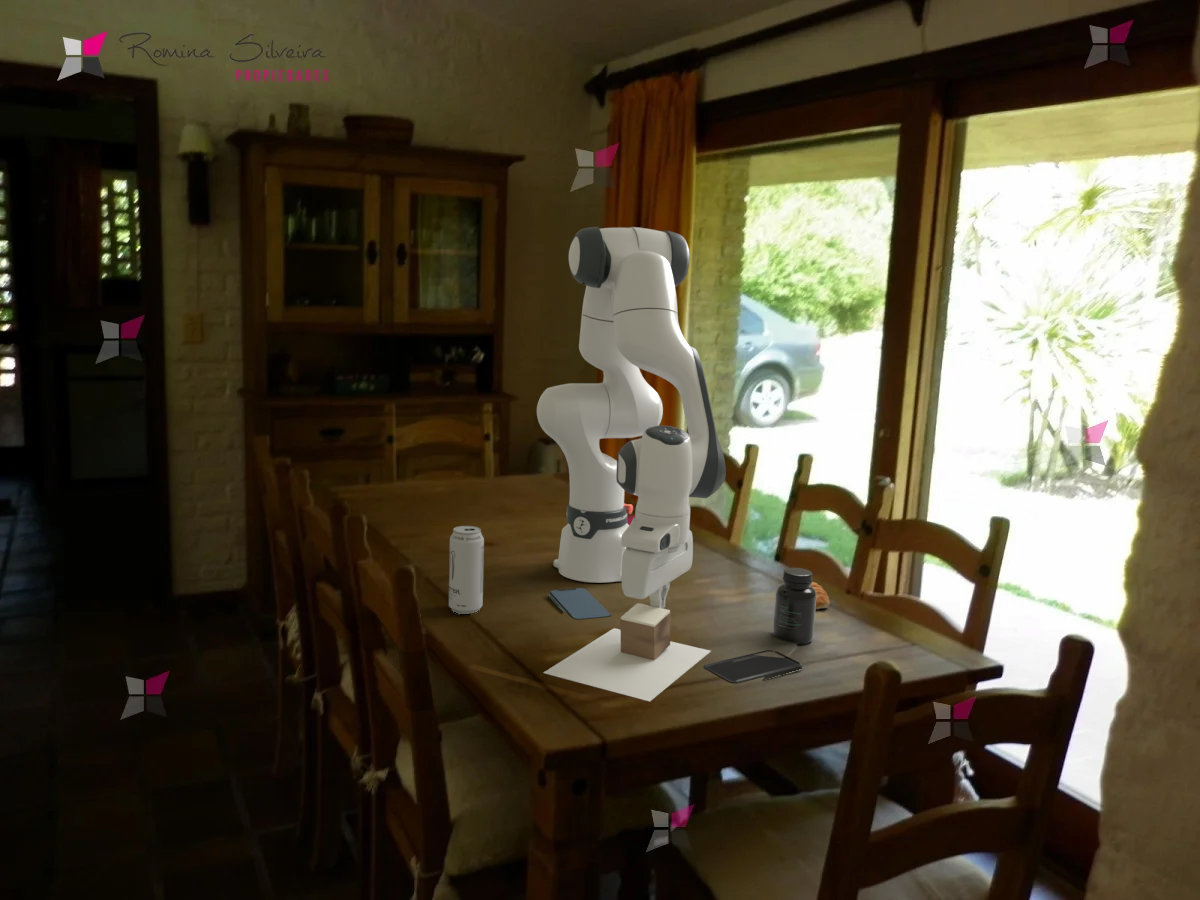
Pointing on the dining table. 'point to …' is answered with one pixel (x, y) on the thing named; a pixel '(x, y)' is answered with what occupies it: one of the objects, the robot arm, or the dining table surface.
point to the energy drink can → (466, 569)
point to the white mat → (626, 667)
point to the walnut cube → (645, 631)
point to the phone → (753, 667)
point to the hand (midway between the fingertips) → (657, 609)
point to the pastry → (820, 596)
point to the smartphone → (578, 603)
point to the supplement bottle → (795, 607)
